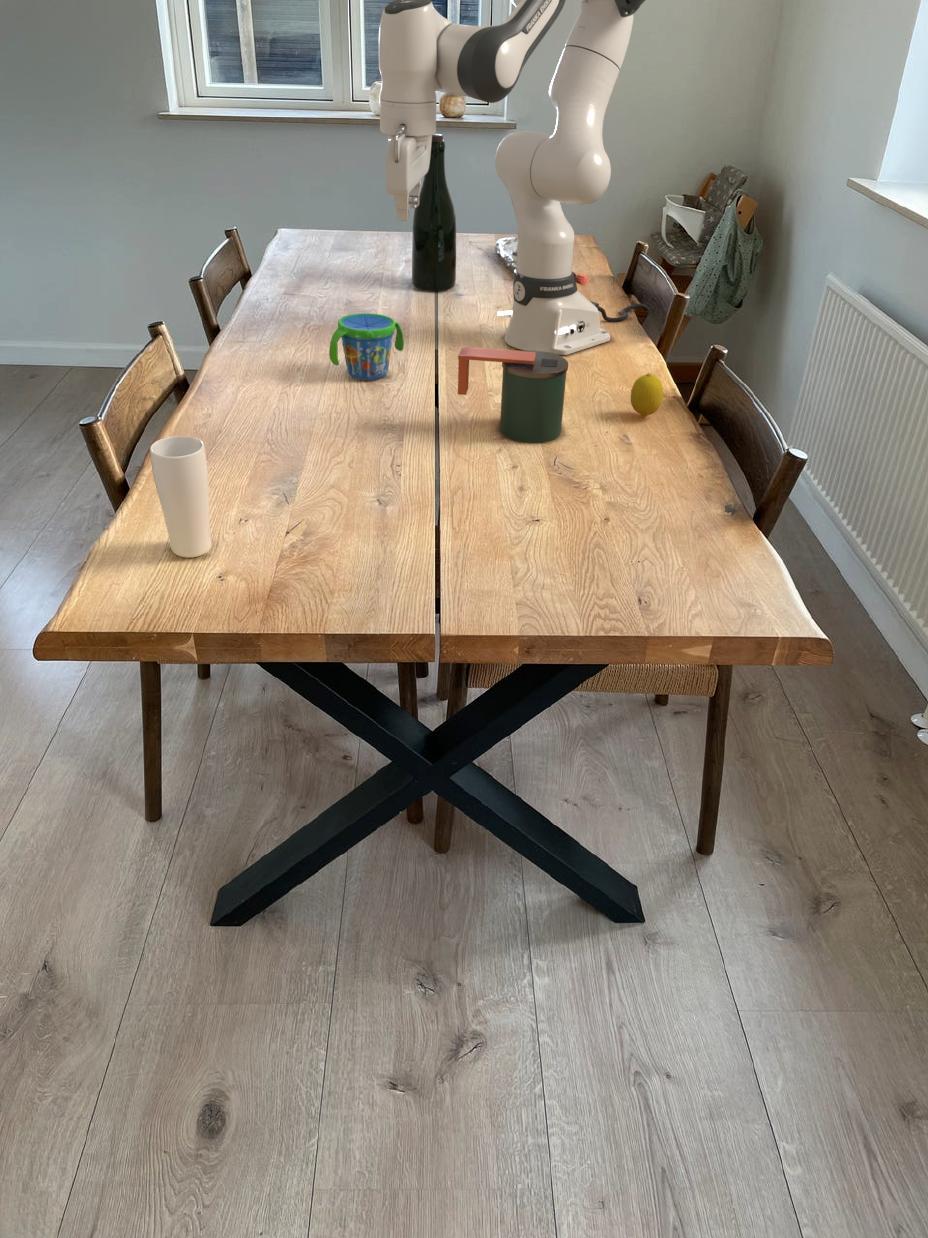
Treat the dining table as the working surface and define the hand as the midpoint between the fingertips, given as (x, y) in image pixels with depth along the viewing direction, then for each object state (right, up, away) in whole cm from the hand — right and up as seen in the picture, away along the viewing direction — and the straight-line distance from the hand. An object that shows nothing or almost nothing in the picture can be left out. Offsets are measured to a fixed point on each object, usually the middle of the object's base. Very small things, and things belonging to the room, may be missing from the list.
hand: (408, 213), depth 163 cm
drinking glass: (-27, -57, -30) cm, 70 cm away
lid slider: (+14, -29, +3) cm, 32 cm away
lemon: (+41, -31, +12) cm, 53 cm away
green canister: (+20, -35, +6) cm, 40 cm away
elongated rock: (+23, +24, +92) cm, 98 cm away
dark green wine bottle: (+2, +13, +74) cm, 75 cm away
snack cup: (-9, -21, +25) cm, 34 cm away
